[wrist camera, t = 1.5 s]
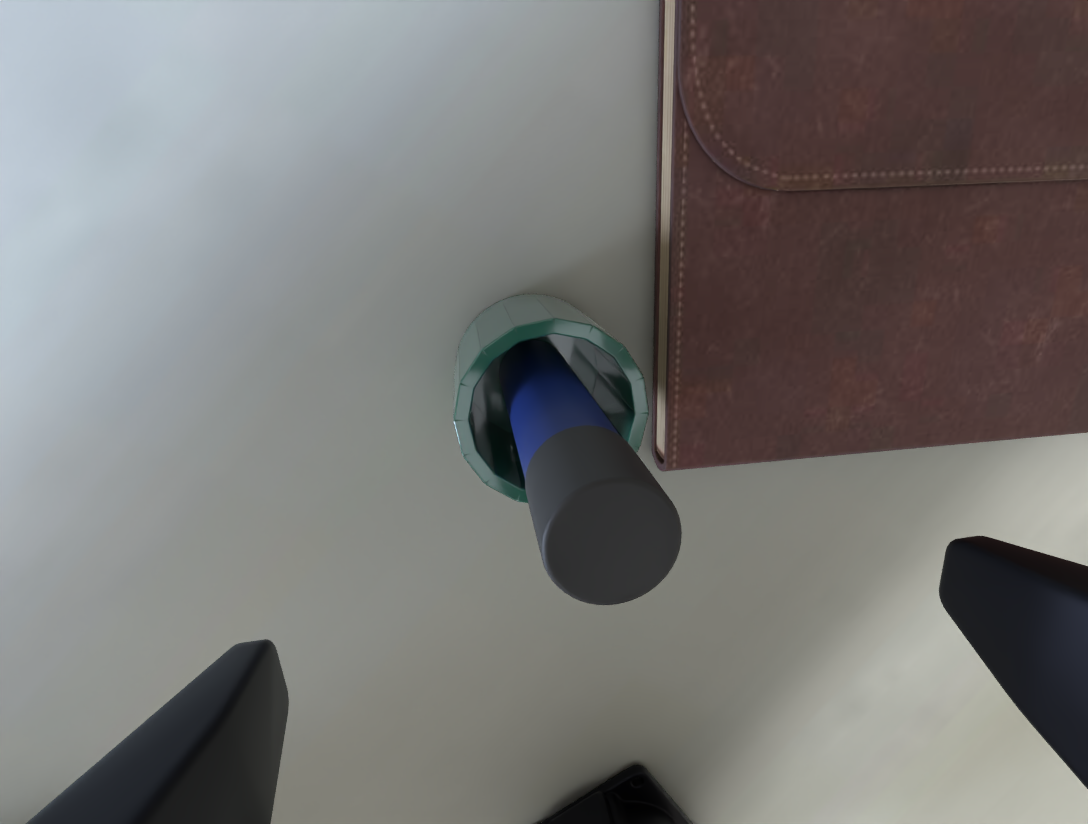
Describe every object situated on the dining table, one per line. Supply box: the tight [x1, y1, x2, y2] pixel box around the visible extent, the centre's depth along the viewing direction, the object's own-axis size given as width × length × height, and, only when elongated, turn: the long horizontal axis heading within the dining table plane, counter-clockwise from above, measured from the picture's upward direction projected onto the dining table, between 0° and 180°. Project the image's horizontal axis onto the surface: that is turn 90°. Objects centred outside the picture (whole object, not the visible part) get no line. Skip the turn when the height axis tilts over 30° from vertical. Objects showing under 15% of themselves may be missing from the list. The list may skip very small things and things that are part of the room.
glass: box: [453, 294, 649, 503], centre depth 18 cm, size 5×5×5 cm
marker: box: [499, 340, 682, 605], centre depth 15 cm, size 2×2×11 cm
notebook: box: [652, 0, 1088, 471], centre depth 20 cm, size 15×20×2 cm
